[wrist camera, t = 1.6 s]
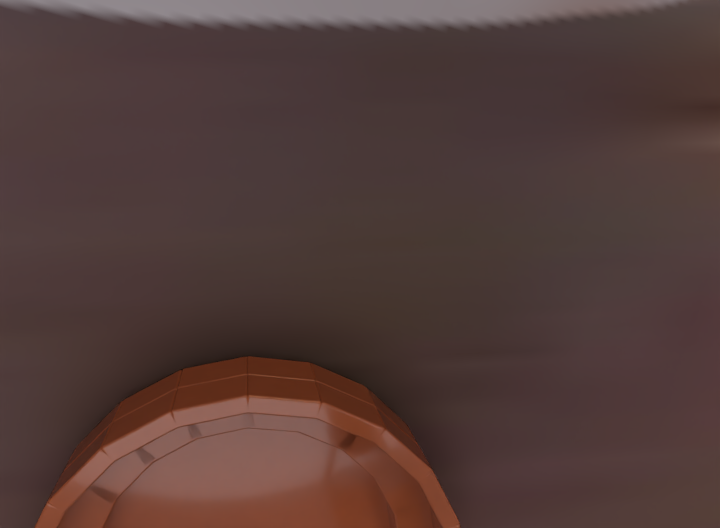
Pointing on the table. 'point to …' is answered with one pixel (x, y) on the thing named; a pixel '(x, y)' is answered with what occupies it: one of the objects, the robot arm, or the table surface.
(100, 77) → the table surface
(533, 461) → the table surface
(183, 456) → the bowl
